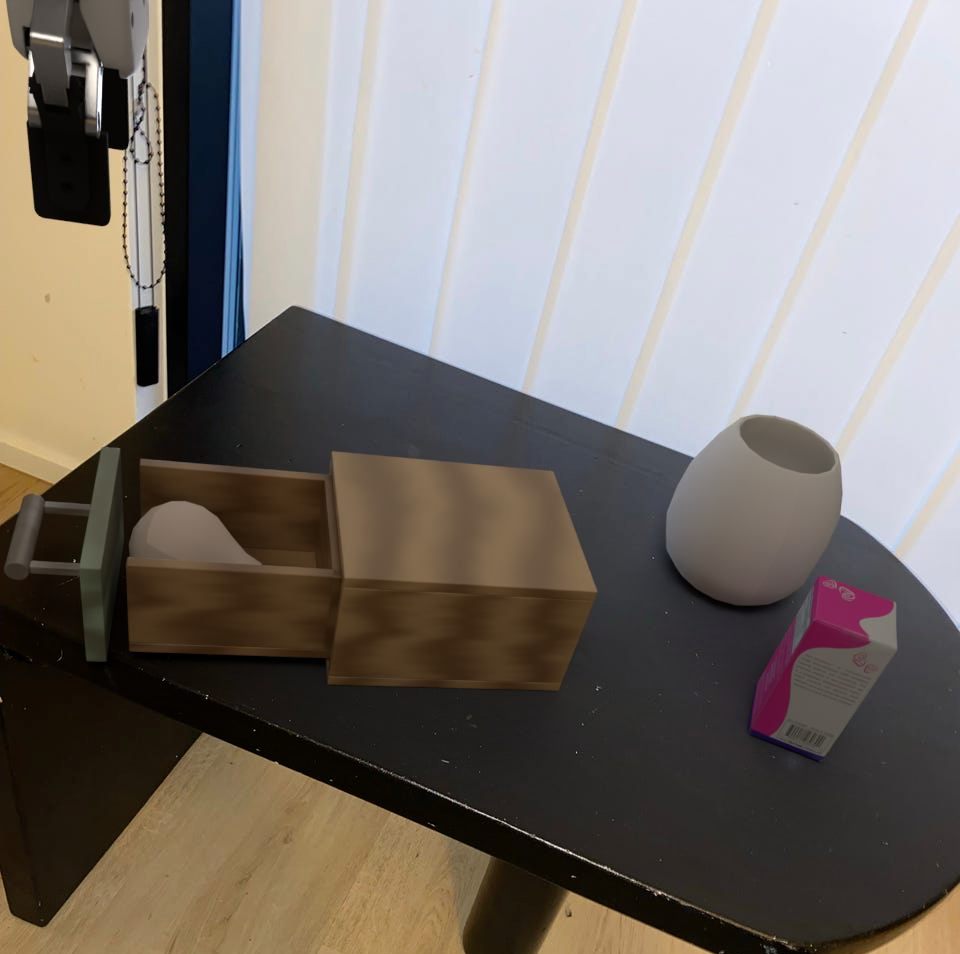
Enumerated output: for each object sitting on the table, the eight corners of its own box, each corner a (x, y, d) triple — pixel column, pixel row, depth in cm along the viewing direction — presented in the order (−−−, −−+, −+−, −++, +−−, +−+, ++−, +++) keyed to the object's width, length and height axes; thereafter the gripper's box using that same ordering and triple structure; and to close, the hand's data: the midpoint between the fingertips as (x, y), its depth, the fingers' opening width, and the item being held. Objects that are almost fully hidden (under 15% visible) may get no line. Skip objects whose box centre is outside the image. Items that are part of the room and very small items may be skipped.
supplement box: (826, 711, 75) (900, 601, 68) (821, 764, 71) (900, 653, 63) (754, 682, 76) (820, 570, 68) (745, 733, 71) (814, 620, 64)
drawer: (5, 659, 61) (-11, 562, 55) (35, 533, 69) (24, 439, 64) (332, 669, 66) (346, 582, 61) (323, 551, 74) (334, 466, 69)
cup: (773, 538, 91) (840, 413, 82) (812, 636, 82) (893, 506, 73) (639, 516, 89) (692, 385, 80) (663, 614, 79) (726, 478, 70)
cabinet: (327, 684, 66) (344, 577, 60) (317, 555, 75) (331, 450, 69) (558, 691, 70) (598, 592, 64) (522, 568, 80) (553, 470, 73)
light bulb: (318, 541, 66) (164, 464, 63) (285, 615, 62) (119, 535, 59) (290, 591, 71) (146, 521, 68) (257, 662, 67) (103, 590, 64)
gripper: (149, -243, 32) (154, 267, 43) (177, -273, 44) (175, 132, 55) (-112, -312, 30) (-34, 242, 41) (-7, -324, 42) (30, 108, 53)
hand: (86, 179), depth 48 cm, fingers open, 9 cm apart
